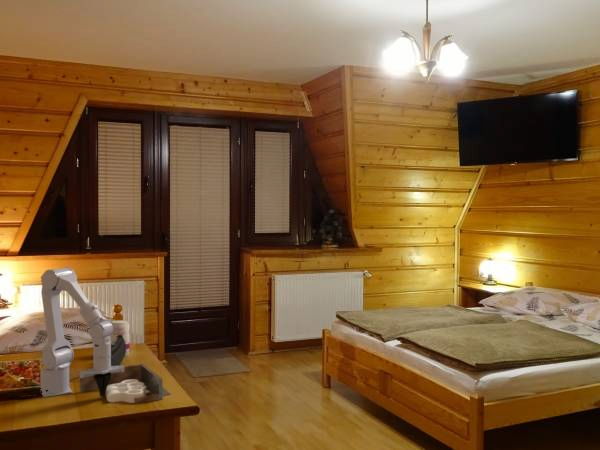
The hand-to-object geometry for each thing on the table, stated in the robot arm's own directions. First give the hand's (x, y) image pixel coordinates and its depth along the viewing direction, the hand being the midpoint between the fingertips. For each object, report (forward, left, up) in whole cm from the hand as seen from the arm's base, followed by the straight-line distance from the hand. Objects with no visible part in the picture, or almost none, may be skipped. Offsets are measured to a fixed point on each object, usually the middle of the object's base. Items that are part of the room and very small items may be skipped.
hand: (102, 395), depth 202 cm
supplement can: (+20, +56, -1) cm, 60 cm away
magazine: (+13, +37, -1) cm, 39 cm away
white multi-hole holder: (+8, -1, -2) cm, 9 cm away
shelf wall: (+6, 0, -1) cm, 6 cm away
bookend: (+19, 0, -1) cm, 19 cm away
